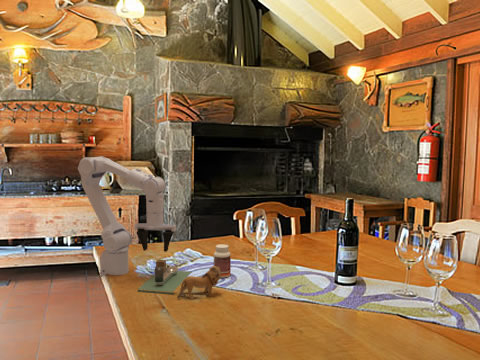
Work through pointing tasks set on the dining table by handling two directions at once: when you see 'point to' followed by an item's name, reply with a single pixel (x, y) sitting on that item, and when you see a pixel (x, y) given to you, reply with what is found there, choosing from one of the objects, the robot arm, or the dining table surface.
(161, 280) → the lever
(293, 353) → the dining table surface
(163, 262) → the walnut block
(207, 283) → the lion figurine
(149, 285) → the green flat rectangular slab
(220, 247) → the pill bottle
